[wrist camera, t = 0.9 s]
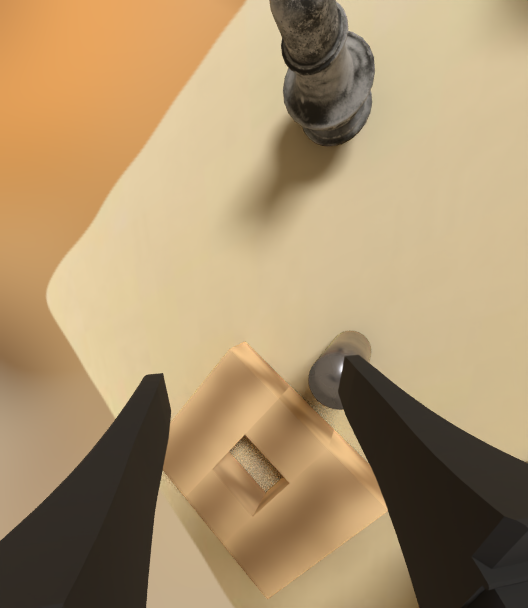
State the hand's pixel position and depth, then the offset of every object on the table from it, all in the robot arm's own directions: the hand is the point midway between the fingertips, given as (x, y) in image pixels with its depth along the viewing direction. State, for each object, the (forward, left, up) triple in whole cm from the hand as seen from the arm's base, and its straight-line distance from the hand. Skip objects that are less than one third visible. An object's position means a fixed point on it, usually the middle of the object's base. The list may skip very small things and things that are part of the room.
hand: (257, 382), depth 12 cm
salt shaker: (+10, -13, -14) cm, 22 cm away
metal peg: (-3, 0, -13) cm, 14 cm away
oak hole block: (-4, +13, -13) cm, 19 cm away
